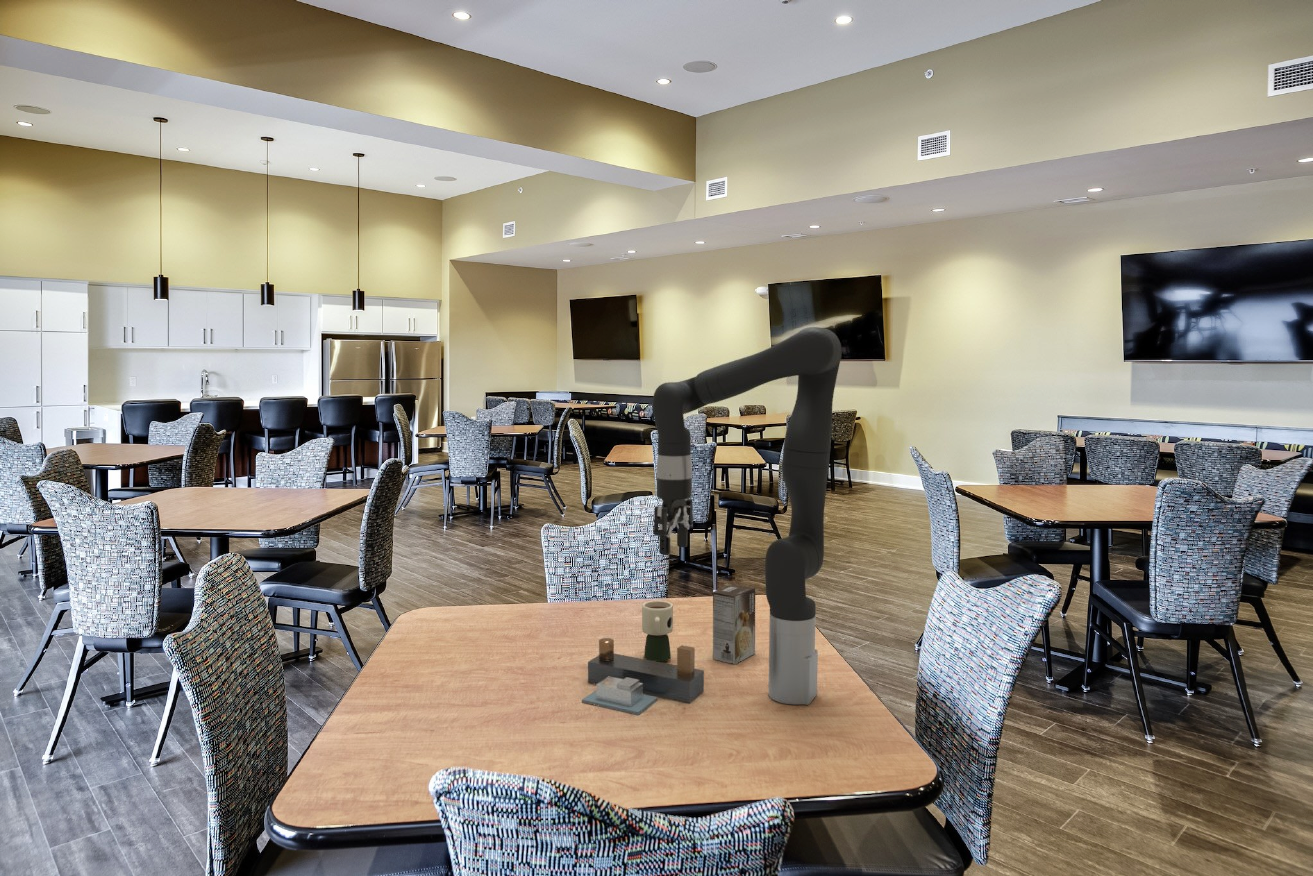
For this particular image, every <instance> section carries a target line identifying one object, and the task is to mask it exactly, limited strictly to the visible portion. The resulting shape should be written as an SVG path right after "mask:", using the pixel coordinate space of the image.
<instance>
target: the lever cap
mask: <svg viewBox="0 0 1313 876" xmlns="http://www.w3.org/2000/svg"><path fill="white" fill-rule="evenodd" d="M595 690H596V699H598V700H603V701H607V702H612V703H616V704H621V705H625V706H630V707H631V706H632V705H634V704H635V703H636V702H638V701H639V700H640V699H642V698H643V683H640V680H638V679H633V678H628V677H626V678H625V679H619V678H615V677H610V676H609V677H607V678H606V679H604V680H602V681H601V682H599V683H598V684H596V685H595Z"/></svg>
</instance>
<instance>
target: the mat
mask: <svg viewBox="0 0 1313 876" xmlns="http://www.w3.org/2000/svg"><path fill="white" fill-rule="evenodd" d="M657 701H658V697H656V696H651V695H646V694H643V698H642V699H640V700H639V701H638V702H636V703H635V704H634V705H632V706H631V707H630V706H625V705H621V704H616V703H612V702H607V701H603V700H598V699H596V689H595V690H594V691H592V692H591V693H589V694H587V695H586V696H585V697H583V698H582V699H581V703H582V702H585V703H584V704H587V703H591V704H595V705H594V706H596V705H599V706H598V707H600V706H602V707H601V708H605V709H606V708H607V709H609V710H615V711H618V712H619V711H620V712H623V713H628V714H632V715H636V716H639V715H641V714H642V713H643V712H645V711H646V710H648V708H649V707H651V706H652V705H653V704H655V703H656V702H657ZM591 704H590V705H591Z"/></svg>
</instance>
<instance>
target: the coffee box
mask: <svg viewBox="0 0 1313 876" xmlns="http://www.w3.org/2000/svg"><path fill="white" fill-rule="evenodd" d="M755 654H756V587H752V586H746V585H740V584H735V583H734V584H730V585H728V586H725V587H722V588H720V589H718V590H715V591H713V592H712V659H713V660H715V661H719V662H723V661H724V663H727V664H731V663H733V664H732V665H737V664H739V663H740V661H741V662H742V661H744V660H745V659H747V658H749V657H752V656H753V655H755ZM738 662H739V663H738ZM736 663H737V664H736Z"/></svg>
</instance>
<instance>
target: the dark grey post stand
mask: <svg viewBox="0 0 1313 876" xmlns="http://www.w3.org/2000/svg"><path fill="white" fill-rule="evenodd" d="M614 641H615V640H614V639H613V638H609V637H606V638H605V637H603V638H600V639H599V640H598V655H596V656H595V657H594V658H592V659H590V660H588V661H587V682H588V683H591V684H594V683H595V684H598V683H599V682H601V681H602V680H604V679H606V678H607V677H609V676H610V677H615V678H619V679H625V678H626V677H628V678H633V679H638V680H640V683H643V694H644V695H649V696H654V697H657V698H662V699H665V700H671V701H676V702H679V703H680V702H681V703H684V704H691V703H692V702H693V701H695V700H696V699H697V698H698V697H699V696H700V695H701V694H702V693H703V692H704V688H705V687H704V686H705V685H704V683H705V680H704V679H705V670H704V669H699V668H695V667H696V666H695V657H696V656H695V653H696V652H695V651H696V649H695V647H694V646H688V645H683V644H681V645H679V646H678V647H677V648H676V651H677V653H676V657H677V658H676V659H677V660H676V664H672V663H667V662H663V661H658V662H657V661H654V660H647V659H645V658H641V657H640V658H639V657H635V656H630V655H624V654H618V653H614V651H615V650H614V649H615V648H614V647H615V646H614V645H615V642H614ZM595 684H594V685H595Z"/></svg>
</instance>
